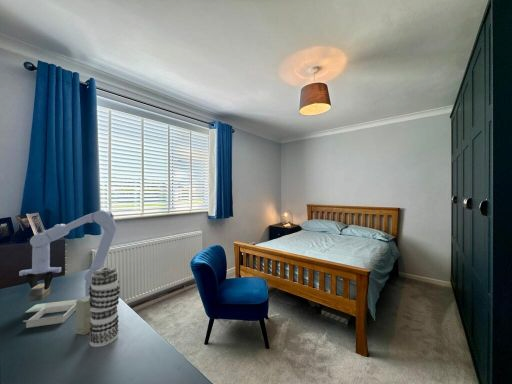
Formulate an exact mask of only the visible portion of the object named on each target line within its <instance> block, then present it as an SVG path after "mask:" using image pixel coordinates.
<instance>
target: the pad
mask: <svg viewBox="0 0 512 384" xmlns="http://www.w3.org/2000/svg"><path fill="white" fill-rule="evenodd" d="M47 303H48V302H45V303H37V304H35V305H33V306H32V307H30V308H29V309H27V310H26V311H25V312H24V313H25V314H28V313H38V312H39V311H40V310H42V309H43V308H44V307H45V305H46V304H47Z"/></svg>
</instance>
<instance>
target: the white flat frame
mask: <svg viewBox="0 0 512 384" xmlns="http://www.w3.org/2000/svg"><path fill="white" fill-rule="evenodd" d="M79 299H80V298H79ZM79 299H71V300H62V301H55V302H53V301H52V302H46V303H47V304H46V305H45V307H44V308H43V309H42V310H40V311H38V312H36V313H35V314H34V315H33V316H31V317H29V319H28V320H27V319H25V320H22V322H23V323H25V324H26V325H25V326H26V327H25V328H26V329H28V328H35V327H40V326H41V327H42V326H49V325H56V324H63V323H64V322H66V320H67V319H69V318H70V317H71V315H73V313H74V312H76V301H77V300H79ZM59 312H65V313H64V314H63V315H55V316H51V317H50V316H49V317H43V316H44V315H45V314H52V313H59Z"/></svg>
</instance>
